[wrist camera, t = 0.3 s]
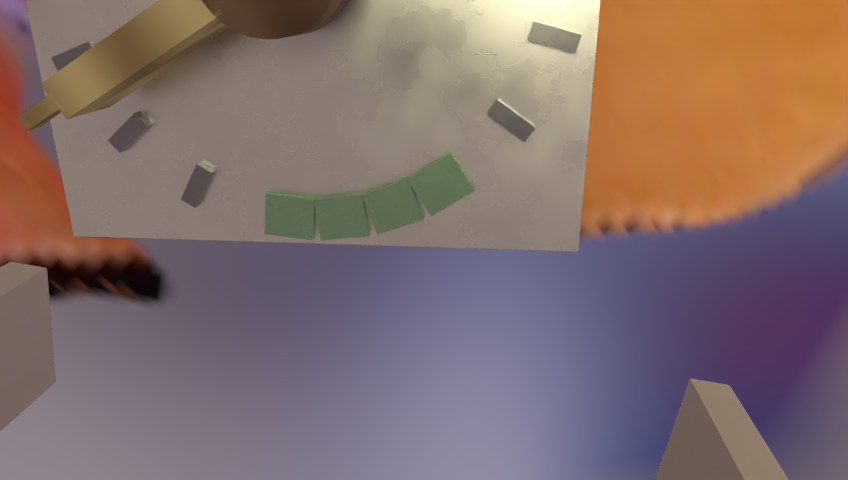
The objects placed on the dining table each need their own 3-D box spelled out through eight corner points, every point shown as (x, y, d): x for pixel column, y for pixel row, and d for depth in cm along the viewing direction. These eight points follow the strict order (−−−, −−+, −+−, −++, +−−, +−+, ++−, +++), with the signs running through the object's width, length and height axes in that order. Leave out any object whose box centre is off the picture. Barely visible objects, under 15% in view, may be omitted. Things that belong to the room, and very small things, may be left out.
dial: (306, -147, 31) (281, -168, 27) (382, -11, 32) (368, -13, 29) (29, 54, 35) (-25, 61, 31) (109, 163, 37) (66, 182, 33)
